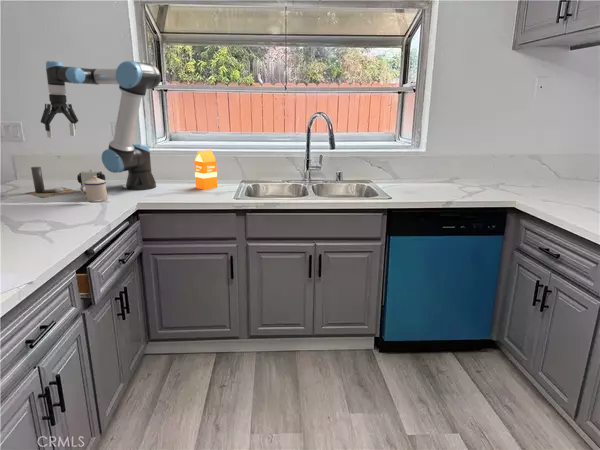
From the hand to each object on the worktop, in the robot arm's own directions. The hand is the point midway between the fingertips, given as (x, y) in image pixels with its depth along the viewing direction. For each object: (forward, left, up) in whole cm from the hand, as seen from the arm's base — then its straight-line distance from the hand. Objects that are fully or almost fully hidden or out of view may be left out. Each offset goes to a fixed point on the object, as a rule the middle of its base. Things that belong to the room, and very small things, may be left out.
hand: (61, 136), depth 214 cm
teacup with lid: (-41, +10, -27) cm, 50 cm away
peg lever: (-12, +16, -25) cm, 32 cm away
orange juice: (-60, -43, -27) cm, 78 cm away
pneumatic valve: (-27, +2, -27) cm, 38 cm away
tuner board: (-14, +15, -26) cm, 33 cm away
